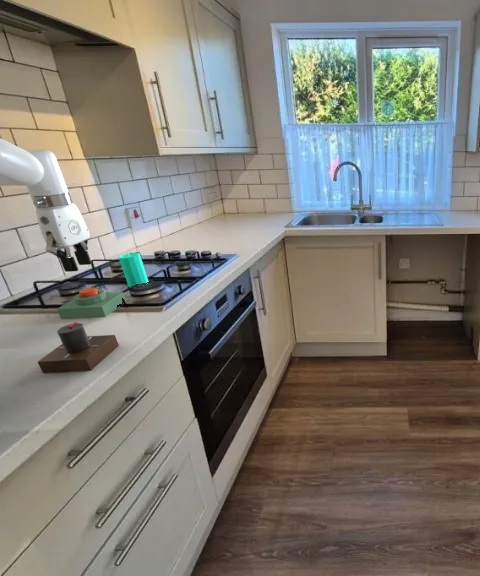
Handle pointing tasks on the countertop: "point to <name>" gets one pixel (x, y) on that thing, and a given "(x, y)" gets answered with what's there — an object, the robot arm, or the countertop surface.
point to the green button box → (91, 305)
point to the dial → (73, 337)
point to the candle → (133, 268)
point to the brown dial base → (79, 356)
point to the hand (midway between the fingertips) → (78, 267)
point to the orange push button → (88, 292)
